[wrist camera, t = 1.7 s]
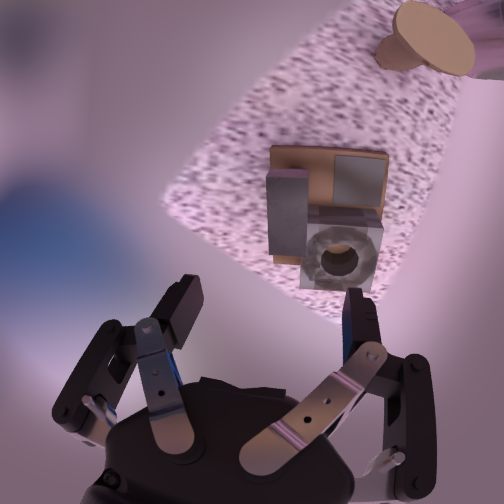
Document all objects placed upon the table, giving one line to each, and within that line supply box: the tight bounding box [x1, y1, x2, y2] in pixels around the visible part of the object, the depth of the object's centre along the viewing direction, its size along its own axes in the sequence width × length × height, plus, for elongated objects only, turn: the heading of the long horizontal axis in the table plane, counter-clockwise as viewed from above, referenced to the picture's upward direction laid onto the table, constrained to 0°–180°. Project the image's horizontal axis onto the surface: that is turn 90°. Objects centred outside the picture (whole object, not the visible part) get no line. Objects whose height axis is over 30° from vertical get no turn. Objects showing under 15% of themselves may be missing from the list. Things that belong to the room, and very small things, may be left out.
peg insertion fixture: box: [270, 145, 389, 293], centre depth 31 cm, size 16×14×7 cm
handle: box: [374, 0, 475, 76], centre depth 16 cm, size 5×6×15 cm
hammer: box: [266, 166, 309, 257], centre depth 26 cm, size 7×3×11 cm, turn 4°
